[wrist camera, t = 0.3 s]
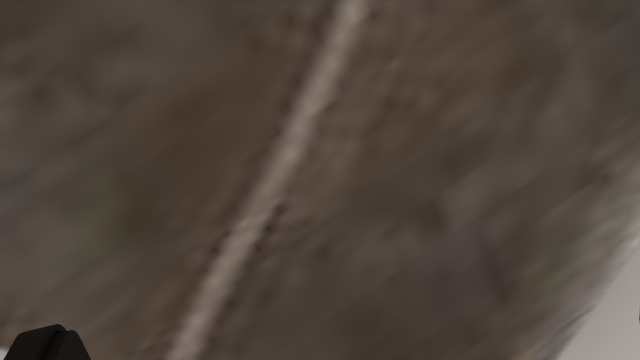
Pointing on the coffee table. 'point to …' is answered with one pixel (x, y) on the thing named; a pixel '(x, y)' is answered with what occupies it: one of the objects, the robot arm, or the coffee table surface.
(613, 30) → the coffee table surface
